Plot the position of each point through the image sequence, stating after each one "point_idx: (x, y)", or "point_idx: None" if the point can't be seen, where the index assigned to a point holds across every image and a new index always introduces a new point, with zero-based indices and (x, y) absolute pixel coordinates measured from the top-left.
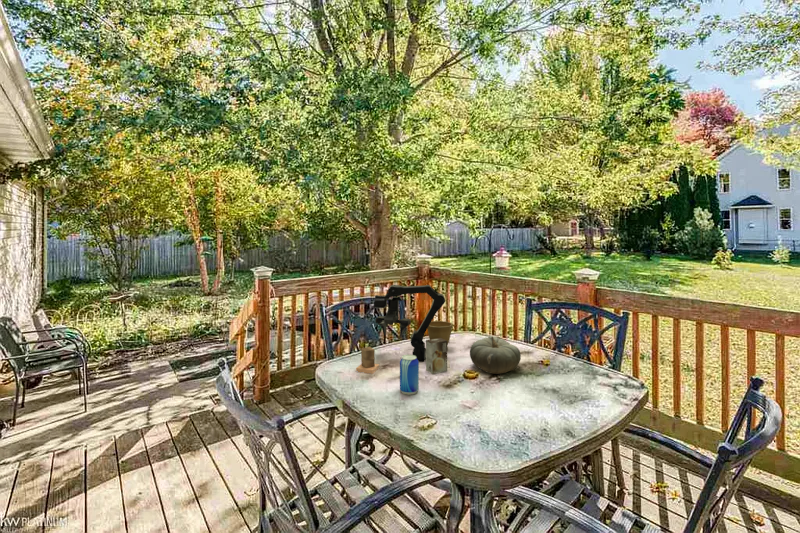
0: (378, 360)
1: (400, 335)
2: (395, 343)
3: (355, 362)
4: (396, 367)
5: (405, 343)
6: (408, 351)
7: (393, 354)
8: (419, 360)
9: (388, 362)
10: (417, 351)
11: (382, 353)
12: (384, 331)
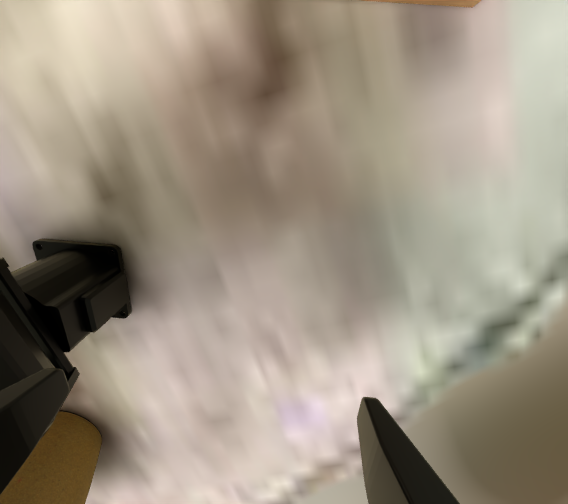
0: (360, 192)
1: (13, 393)
2: (327, 476)
3: (557, 86)
4: (166, 62)
5: (275, 483)
6: (216, 391)
7: (287, 330)
8: (63, 247)
9: (271, 168)
10: (17, 280)
11: (363, 332)
12: (404, 486)
